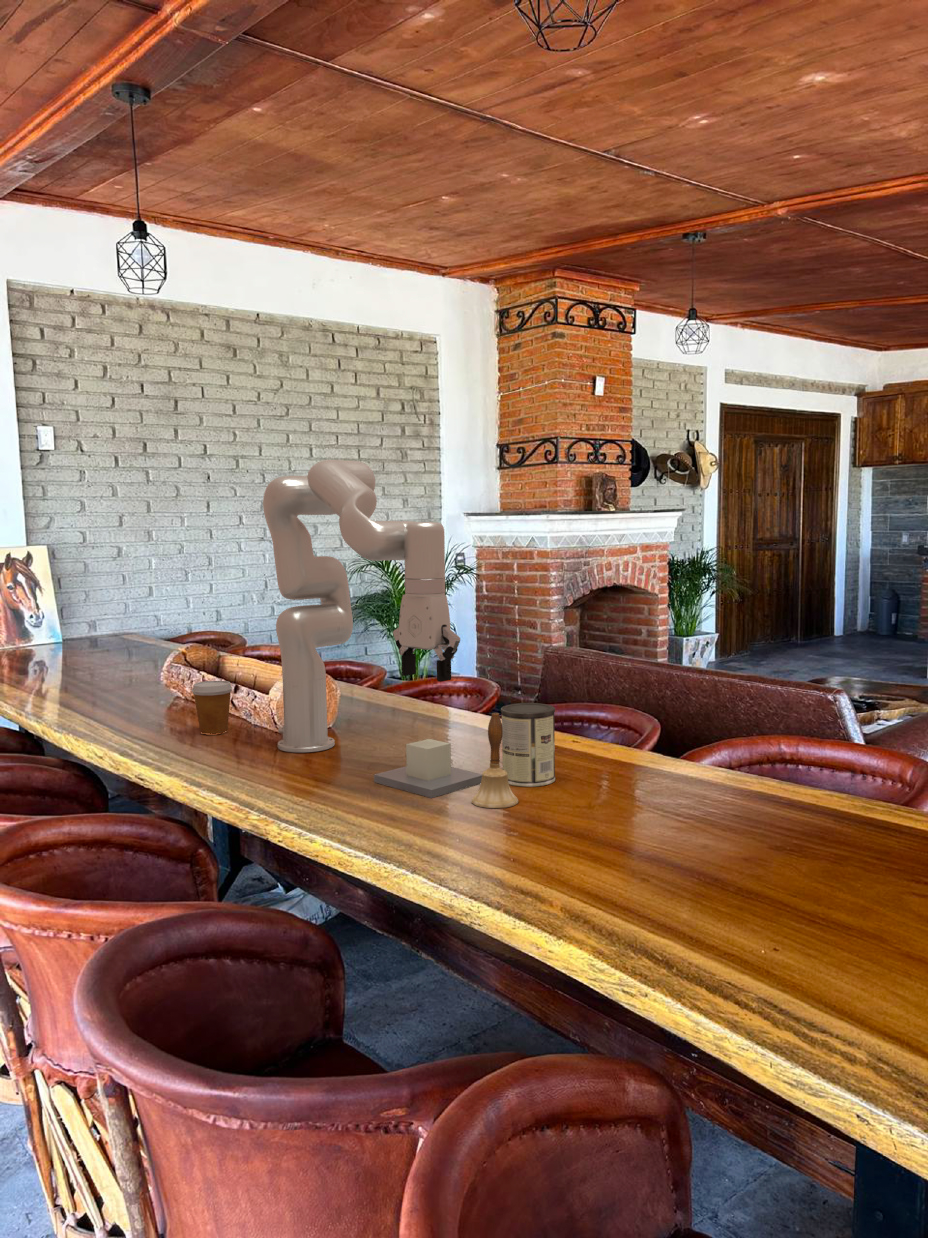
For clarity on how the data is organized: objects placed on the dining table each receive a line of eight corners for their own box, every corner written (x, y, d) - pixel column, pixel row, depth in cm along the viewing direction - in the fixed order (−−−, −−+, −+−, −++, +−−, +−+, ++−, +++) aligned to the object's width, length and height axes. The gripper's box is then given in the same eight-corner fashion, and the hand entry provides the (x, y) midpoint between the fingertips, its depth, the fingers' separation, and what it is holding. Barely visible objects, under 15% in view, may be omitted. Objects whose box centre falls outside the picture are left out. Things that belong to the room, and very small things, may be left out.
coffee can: (513, 770, 188) (512, 701, 187) (562, 776, 184) (562, 704, 182) (493, 783, 179) (492, 710, 177) (544, 789, 174) (544, 714, 173)
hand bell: (494, 792, 173) (493, 707, 171) (528, 801, 167) (527, 713, 165) (461, 802, 167) (460, 713, 166) (495, 812, 161) (494, 720, 160)
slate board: (374, 782, 181) (373, 774, 181) (427, 768, 191) (426, 761, 191) (431, 798, 170) (431, 790, 170) (484, 782, 180) (484, 774, 180)
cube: (406, 775, 180) (406, 744, 180) (429, 769, 184) (428, 738, 184) (428, 780, 176) (427, 749, 175) (451, 774, 180) (450, 743, 180)
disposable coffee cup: (242, 731, 228) (240, 682, 227) (212, 738, 220) (210, 688, 219) (215, 727, 233) (213, 679, 232) (184, 734, 225) (182, 685, 224)
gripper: (379, 587, 180) (381, 675, 182) (442, 591, 168) (443, 685, 170) (408, 584, 186) (410, 670, 187) (472, 588, 174) (472, 680, 175)
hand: (426, 677), depth 179 cm, fingers open, 9 cm apart
